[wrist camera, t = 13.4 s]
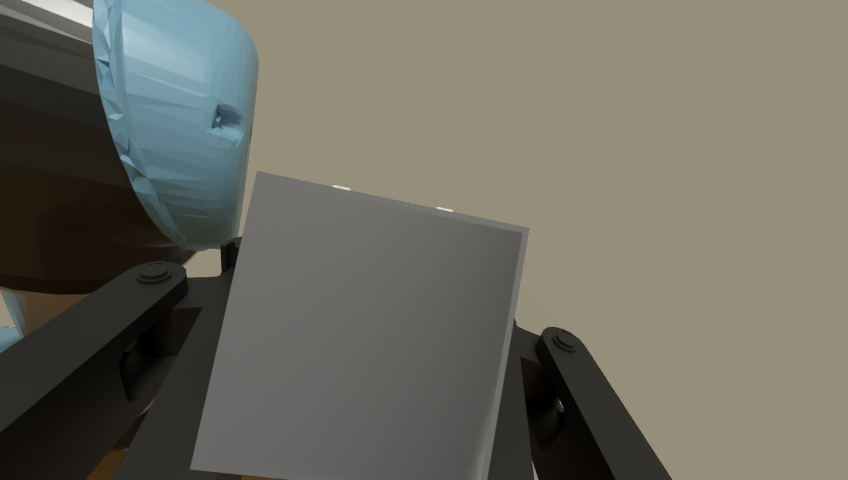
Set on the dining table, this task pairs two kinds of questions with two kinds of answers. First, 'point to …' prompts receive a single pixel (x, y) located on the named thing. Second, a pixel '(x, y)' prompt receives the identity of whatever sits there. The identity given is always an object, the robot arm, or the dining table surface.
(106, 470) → the dining table surface
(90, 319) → the robot arm
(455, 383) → the bar
